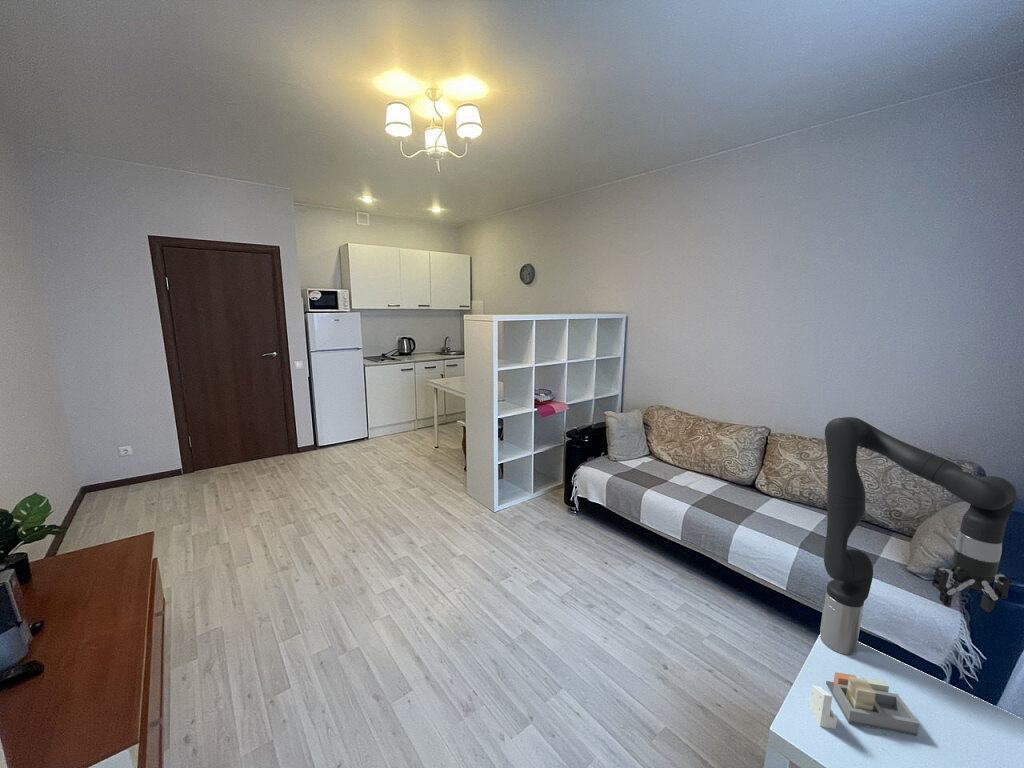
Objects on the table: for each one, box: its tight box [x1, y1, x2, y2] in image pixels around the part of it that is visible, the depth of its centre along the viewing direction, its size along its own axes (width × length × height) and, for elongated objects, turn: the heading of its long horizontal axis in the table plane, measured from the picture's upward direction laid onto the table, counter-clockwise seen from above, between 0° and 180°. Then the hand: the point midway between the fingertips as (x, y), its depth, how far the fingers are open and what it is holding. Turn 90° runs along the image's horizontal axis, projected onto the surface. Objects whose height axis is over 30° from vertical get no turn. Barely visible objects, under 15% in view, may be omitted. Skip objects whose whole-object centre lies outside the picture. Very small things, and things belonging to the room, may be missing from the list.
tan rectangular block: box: [846, 677, 876, 712], centre depth 107 cm, size 4×4×8 cm
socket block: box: [825, 671, 920, 737], centre depth 108 cm, size 12×15×5 cm
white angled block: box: [808, 684, 838, 730], centre depth 105 cm, size 4×10×9 cm, turn 168°
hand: (965, 607), depth 104 cm, fingers open, 8 cm apart
